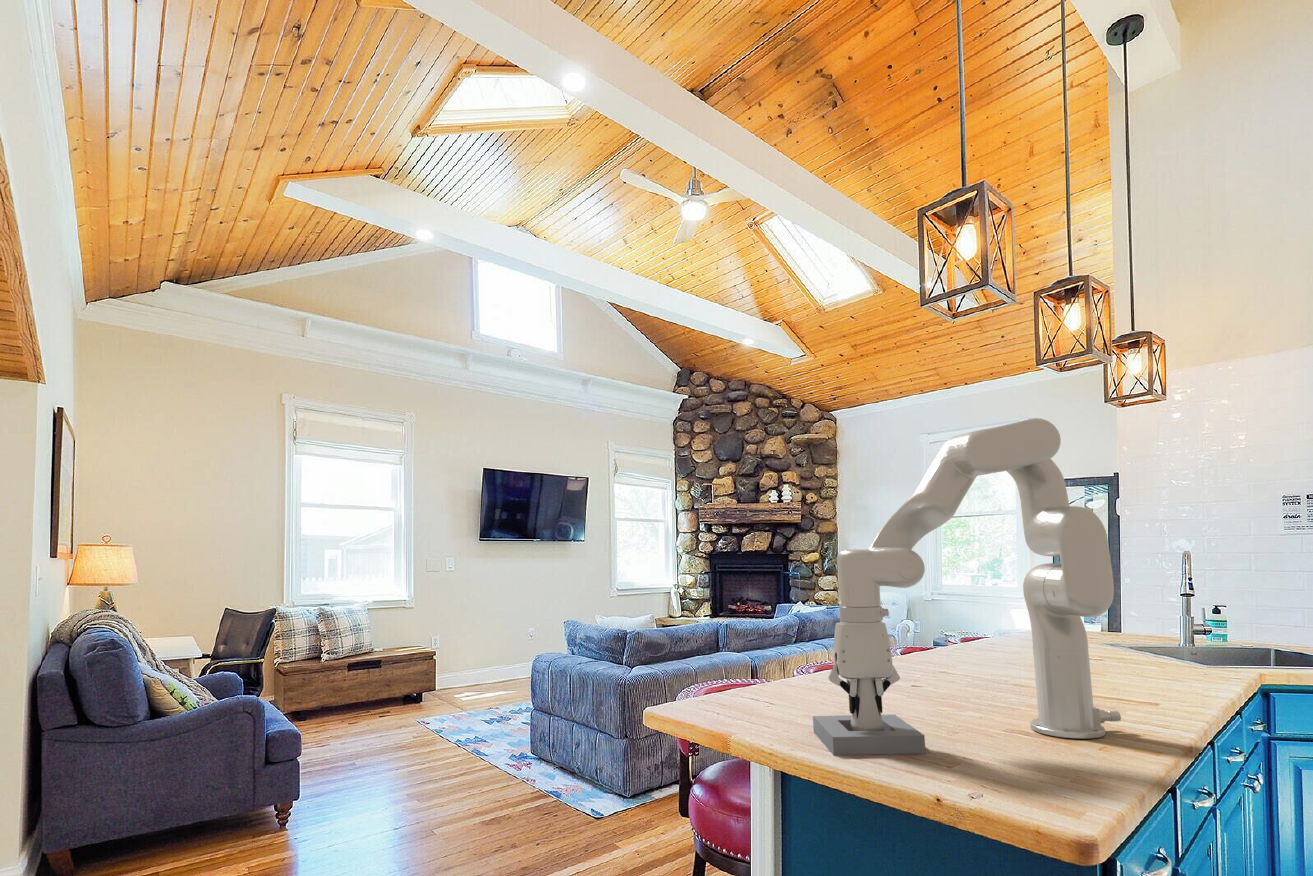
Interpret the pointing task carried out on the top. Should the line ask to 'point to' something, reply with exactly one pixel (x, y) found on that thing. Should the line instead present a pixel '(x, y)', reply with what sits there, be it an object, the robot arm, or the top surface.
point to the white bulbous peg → (866, 708)
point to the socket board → (868, 736)
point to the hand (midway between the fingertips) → (866, 716)
